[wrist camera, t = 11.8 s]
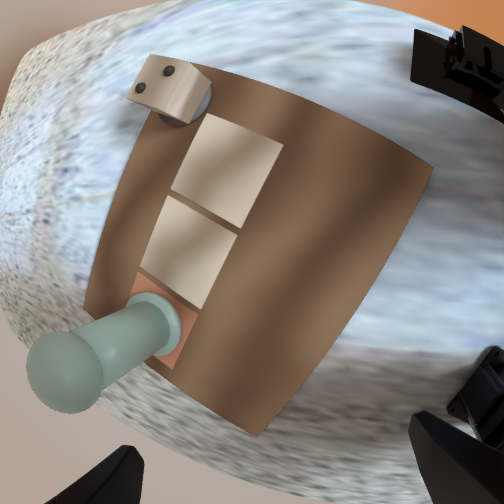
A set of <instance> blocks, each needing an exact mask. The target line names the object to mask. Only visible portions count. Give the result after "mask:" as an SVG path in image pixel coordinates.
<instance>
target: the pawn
mask: <svg viewBox="0 0 504 504" xmlns="http://www.w3.org/2000/svg"><path fill="white" fill-rule="evenodd" d="M181 338H182V322H181V319H180V316H179V314H178V312H177V310H176V308H175V307H174V305H173V304H172V303H171V302H170V301H169V300H168V299H167V298H166V297H164V296H163V295H161V294H159V293H157V292H153V291H145V292H142V293H139V294H137V295H134V296H133V297H131V298H130V299H129V301H128V302H127V304H126V307H125V308H124V309H122V310H119V311H117V312H115V313H112V314H110V315H108V316H105V317H103V318H101V319H98V320H96V321H94V322H91V323H89V324H87V325H84V326H82V327H80V328H77V329H75V330H73V331H70V332H69V333H68V332H62V331H57V332H51V333H48V334H46V335H44V336H42V337H40V338H39V339H38V340H37V341H36V342H35V343H34V344H33V346H32V347H31V349H30V351H29V354H28V357H27V364H26V369H27V376H28V380H29V383H30V386H31V388H32V390H33V391H34V393H35V394H36V396H37V397H38V398H39V399H40V400H41V401H42V402H43V403H44V404H45V405H47V406H48V407H50V408H51V409H53V410H55V411H59V412H62V413H69V414H72V413H73V414H74V413H79V412H82V411H85V410H86V409H88V408H90V407H91V406H92V405H93V404H94V403H95V402H96V401H97V399H98V398H99V396H100V394H101V391H102V390H103V389H105V388H106V387H108V386H109V385H111V384H112V383H113V382H115V381H116V380H118V379H119V378H121V377H122V376H124V375H125V374H126V373H128V372H129V371H131V370H132V369H134V368H135V367H136V366H138V365H139V364H141V363H142V362H144V361H145V360H146V359H148V358H149V357H151V356H152V355H154V356H163V355H166V354H168V353H170V352H171V351H172V350H174V349H175V348H176V347H177V346H178V345H179V343H180V341H181Z"/></svg>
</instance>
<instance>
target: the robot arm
mask: <svg viewBox="0 0 504 504" xmlns="http://www.w3.org/2000/svg"><path fill="white" fill-rule="evenodd" d="M496 351H497V353H496V354H495V352H496ZM494 354H495V355H494ZM453 407H454V408H453ZM451 408H453V409H451ZM446 410H447V412H448V414H450V415H452V416H454V417H456V418H458V419H460V420H463V421H465V422H467V423H469V424H470V425H471V427H472V429H473V431H474V434H475V436H476V438H477V439H476V438H474V437H472V436H470V435H468V434H467V433H465V432H463V431H461V430H459V429H458V428H456V427H454V426H452V425H451V424H449V423H447V422H445V421H444V420H442V419H440V418H438V417H437V416H435V415H433V414H432V413H430V412H428V411H426V410H421V411H418V412H415V413H414V414H413V415H412V417H411V421H410V425H409V429H408V432H409V437H410V440H411V444H412V447H413V450H414V454H415V457H416V460H417V464H418V467H419V471H420V473H421V476H422V478H423V480H424V483H425V485H426V487H427V490H428V492H429V495H430V497H431V499H432V502H433V504H504V350H503V349H501V348H500V347H499V346H494V347H493V348H492V349H491V351H490V352H489V354H488V355H487V357H486V358H485V359H484V361H483V362H482V364H481V365H480V366H479V368H478V369H477V370H476V372H475V373H474V374H473V376H472V377H471V378H470V379H469V381H468V382H467V383H466V384H465V386H464V387H463V388H462V389H461V391H460V392H459V393H458V394H457V395H456V397H455V398H454V399H453V400H452V401H451V402H450V403H449V405H448V406H447V408H446ZM143 473H144V460H143V458H142V457H141V455H140V454H139V453H138V451H137V450H136V448H135V447H134V446H130V445H122V446H120V447H119V448H118V449H117V450H115V451H114V452H113V453H112V454H111V455H109V456H108V457H107V458H105V459H104V460H103V461H102V462H100V463H99V464H98V465H97V466H95V467H94V468H93V469H91V470H90V471H89V472H88V473H86V474H85V475H84V476H82V477H81V478H80V479H78V480H77V481H76V482H74V483H73V484H72V485H70V486H69V487H68V488H66V489H65V490H63V491H62V492H61V493H59V494H58V495H57V496H55V497H54V498H52V499H51V500H49V501H48V502H46V503H45V504H139V503H140V498H141V491H142V481H143Z"/></svg>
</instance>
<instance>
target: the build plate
mask: <svg viewBox="0 0 504 504" xmlns="http://www.w3.org/2000/svg"><path fill="white" fill-rule="evenodd" d="M410 81H411V82H413V83H416V84H419V85H422V86H424V87H427V88H430V89H432V90H435V91H437V92H440V93H442V94H444V95H447V96H449V97H452V98H454V99H456V100H458V101H460V102H463V103H465V104H467V105H469V106H471V107H473V108H475V109H477V110H479V111H481V112H483V113H485V114H487V115H489V116H491V117H493V118H494V119H496V120H498V121H500V122H501V123H503V124H504V46H502V45H501V44H499V43H497V42H495V41H494V40H492V39H490V38H488V37H486V36H484V35H482V34H480V33H478V32H476V31H474V30H472V29H470V28H468V27H466V26H462V27H461V29H460V31H459V32H458V31H456V30H455V31H454V33H453V35H452V37H449V41H448V40H445V39H443V38H440V37H438V36H435V35H432V34H429V33H427V32H424V31H421V30H418V29H414V42H413V56H412V66H411V76H410Z"/></svg>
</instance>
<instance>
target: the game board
mask: <svg viewBox="0 0 504 504" xmlns="http://www.w3.org/2000/svg"><path fill="white" fill-rule="evenodd" d="M126 98H127V99H129V100H131V101H133V102H136V103H138V104H140V105H142V106H144V107H147V108H149V109H151V112H150V114H149V116H148V118H147V120H146V122H145V124H144V127H143V129H142V131H141V133H140V135H139V137H138V140H137V142H136V144H135V146H134V149H133V151H132V153H131V156H130V158H129V160H128V163H127V165H126V168H125V170H124V173H123V175H122V178H121V180H120V183H119V186H118V188H117V191H116V194H115V197H114V199H113V202H112V205H111V208H110V211H109V214H108V217H107V220H106V223H105V226H104V229H103V232H102V236H101V239H100V242H99V246H98V249H97V253H96V257H95V260H94V264H93V268H92V272H91V276H90V280H89V284H88V288H87V293H86V297H85V302H84V307H83V308H84V309H85V310H86V311H87V312H88V313H89V314H90V315H91V316H92V317H93V318H94V319H95V320H98V319H101V318H103V317H105V316H108V315H110V314H112V313H115V312H117V311H119V310H122V309H124V308H125V307H126V304H127V302H128V301H129V299H130V298H131V297H133V296H134V295H137V294H139V293H142V292H145V291H153V292H157V293H159V294H161V295H163V296H164V297H166V298H167V299H168V300H169V301H170V302H171V303H172V304H173V305H174V307H175V308H176V310H177V312H178V314H179V316H180V319H181V322H182V338H181V341H180V343H179V345H178V346H177V347H176V348H175V349H174V350H172V351H171V352H170V353H168V354H166V355H163V356H154V355H152V356H151V357H149V358H148V359H146V360H145V361H144V362H145V363H146V364H147V365H148V366H150V367H151V368H152V369H153V370H155V371H156V372H157V373H159V374H160V375H161V376H163V377H164V378H165V379H167V380H168V381H169V382H171V383H172V384H173V385H175V386H176V387H178V388H179V389H180V390H182V391H183V392H185V393H186V394H188V395H189V396H191V397H192V398H193V399H195V400H196V401H198V402H199V403H201V404H202V405H204V406H205V407H207V408H209V409H210V410H212V411H213V412H215V413H216V414H218V415H220V416H221V417H223V418H224V419H226V420H228V421H229V422H231V423H233V424H234V425H236V426H238V427H240V428H241V429H243V430H245V431H247V432H248V433H250V434H252V435H254V436H256V437H257V436H258V435H259V434H260V433H261V432H262V431H263V430H264V429H265V428H266V427H267V426H268V424H269V423H270V422H271V421H272V420H273V419H274V418H275V417H276V415H277V414H278V413H279V412H280V411H281V410H282V408H283V407H284V406H285V405H286V404H287V403H288V401H289V400H290V399H291V398H292V397H293V395H294V394H295V393H296V392H297V391H298V389H299V388H300V387H301V386H302V384H303V383H304V382H305V381H306V379H307V378H308V377H309V375H310V374H311V373H312V372H313V370H314V369H315V368H316V366H317V365H318V364H319V362H320V361H321V360H322V358H323V357H324V356H325V354H326V353H327V352H328V350H329V349H330V348H331V346H332V345H333V343H334V342H335V341H336V339H337V338H338V336H339V335H340V334H341V332H342V331H343V329H344V328H345V326H346V325H347V323H348V322H349V320H350V319H351V317H352V316H353V314H354V313H355V311H356V310H357V308H358V307H359V305H360V304H361V302H362V301H363V299H364V298H365V296H366V294H367V293H368V291H369V290H370V288H371V286H372V285H373V283H374V282H375V280H376V278H377V277H378V275H379V273H380V272H381V270H382V268H383V266H384V265H385V263H386V261H387V260H388V258H389V256H390V254H391V252H392V251H393V249H394V247H395V245H396V243H397V242H398V240H399V238H400V236H401V234H402V232H403V230H404V229H405V227H406V225H407V223H408V221H409V219H410V217H411V215H412V213H413V211H414V209H415V207H416V205H417V203H418V201H419V199H420V197H421V194H422V192H423V190H424V188H425V186H426V184H427V181H428V179H429V177H430V175H431V172H432V170H433V168H434V167H433V166H431V165H430V164H428V163H427V162H425V161H424V160H422V159H421V158H419V157H417V156H416V155H414V154H413V153H411V152H409V151H408V150H406V149H404V148H403V147H401V146H399V145H398V144H396V143H394V142H392V141H391V140H389V139H387V138H385V137H384V136H382V135H380V134H378V133H376V132H374V131H373V130H371V129H369V128H367V127H365V126H363V125H361V124H359V123H357V122H355V121H353V120H351V119H349V118H347V117H345V116H343V115H341V114H339V113H337V112H334V111H332V110H330V109H328V108H326V107H323V106H321V105H319V104H316V103H314V102H312V101H309V100H307V99H305V98H302V97H300V96H297V95H295V94H292V93H289V92H287V91H284V90H282V89H279V88H276V87H273V86H270V85H268V84H265V83H262V82H259V81H256V80H253V79H250V78H247V77H243V76H240V75H237V74H233V73H230V72H226V71H223V70H219V69H216V68H212V67H208V66H204V65H200V64H196V63H191V62H188V61H184V60H180V59H175V58H170V57H164V56H159V55H153V54H150V55H149V57H148V58H147V60H146V62H145V63H144V65H143V67H142V69H141V71H140V72H139V74H138V76H137V78H136V80H135V81H134V83H133V85H132V87H131V89H130V91H129V93H128V95H127V97H126Z"/></svg>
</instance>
